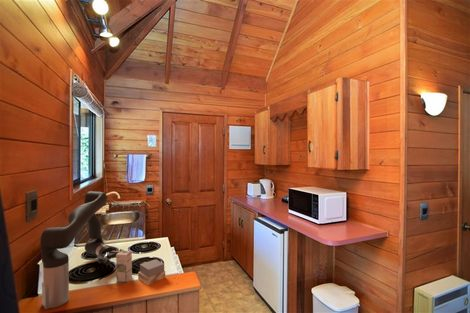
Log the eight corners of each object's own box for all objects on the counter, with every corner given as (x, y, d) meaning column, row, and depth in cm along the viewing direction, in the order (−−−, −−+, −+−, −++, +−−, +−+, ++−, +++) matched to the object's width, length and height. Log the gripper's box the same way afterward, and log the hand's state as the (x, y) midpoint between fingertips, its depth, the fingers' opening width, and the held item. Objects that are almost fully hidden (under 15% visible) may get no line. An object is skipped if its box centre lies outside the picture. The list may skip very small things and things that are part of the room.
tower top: (148, 277, 124) (148, 269, 124) (140, 272, 131) (140, 264, 131) (164, 271, 131) (164, 263, 131) (155, 266, 137) (155, 259, 137)
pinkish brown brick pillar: (132, 277, 132) (132, 250, 132) (126, 282, 126) (126, 254, 126) (122, 276, 133) (122, 249, 133) (115, 282, 127) (115, 254, 127)
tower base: (148, 286, 124) (148, 278, 124) (138, 279, 130) (138, 272, 130) (165, 278, 131) (165, 271, 131) (155, 272, 138) (155, 265, 138)
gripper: (91, 249, 140) (103, 256, 130) (117, 242, 151) (129, 248, 140) (92, 262, 140) (103, 270, 130) (117, 254, 151) (129, 261, 140)
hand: (117, 259), depth 135 cm, fingers open, 8 cm apart
